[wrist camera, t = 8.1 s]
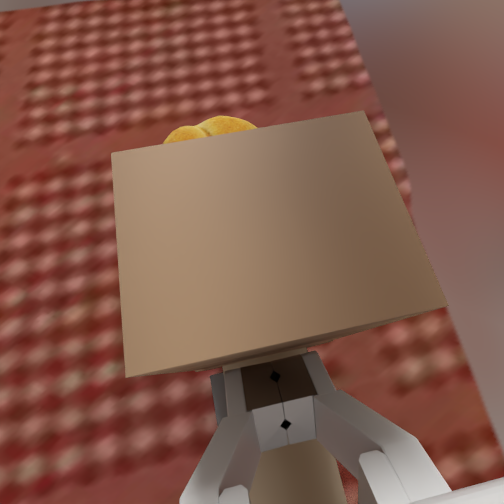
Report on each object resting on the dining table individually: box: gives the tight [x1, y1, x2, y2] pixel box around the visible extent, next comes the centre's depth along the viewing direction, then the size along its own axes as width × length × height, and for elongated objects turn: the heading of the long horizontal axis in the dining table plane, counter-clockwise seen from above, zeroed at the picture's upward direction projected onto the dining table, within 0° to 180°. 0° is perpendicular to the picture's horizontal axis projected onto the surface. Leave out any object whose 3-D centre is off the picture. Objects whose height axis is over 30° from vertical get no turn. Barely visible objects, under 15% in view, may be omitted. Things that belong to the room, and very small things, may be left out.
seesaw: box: [210, 347, 347, 504], centre depth 16 cm, size 6×18×9 cm, turn 12°
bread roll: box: [163, 116, 257, 144], centre depth 24 cm, size 8×9×4 cm
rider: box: [111, 111, 448, 378], centre depth 11 cm, size 6×4×13 cm, turn 102°
